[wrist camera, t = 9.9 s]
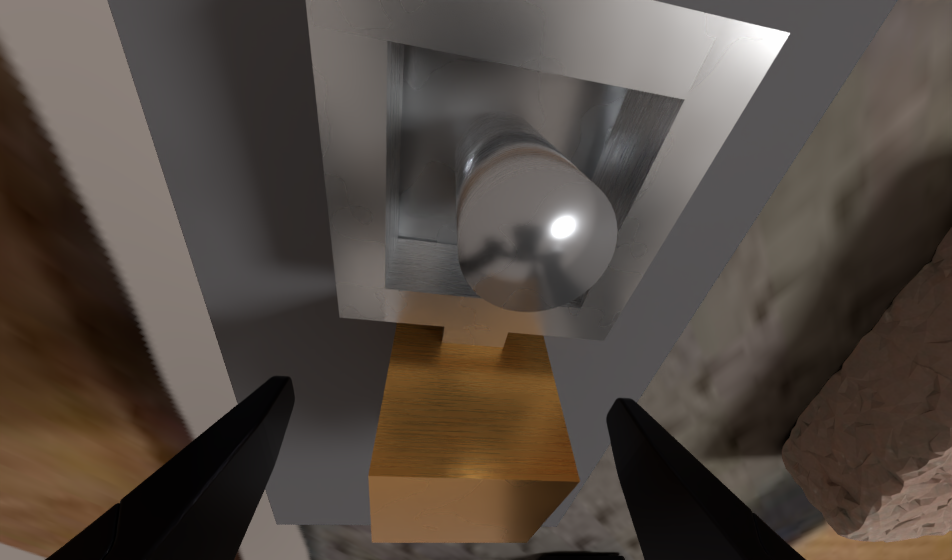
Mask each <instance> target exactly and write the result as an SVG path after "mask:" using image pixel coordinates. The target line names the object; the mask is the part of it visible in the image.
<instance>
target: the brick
mask: <svg viewBox="0 0 952 560" xmlns="http://www.w3.org/2000/svg"><path fill="white" fill-rule="evenodd" d="M782 458H783V462H784V464H785V467H786V469H787V470H788V471H789V473H790V474H791V475H792V477H793V479H794V480H795V482H796V483H797V484H798V485H800V486H801V487H802V489H803V491H804V493H805V495H806V497H807V498H808V500H809V502H810V503H811V504H812V505H813V506H815V507H816V508H817V509H818V510H819V511H821V512H822V513H823V516H824V519H825V520H826V521H827V522H828V524H829V525H830V526H831V527H832V528H833V529H834V530H835V531H836V533H837V534H838V535H840V536H843V537H846V538H848V539H853V540H859V541H873V542H876V541H884V542H893V541H901V540H905V539H910V538H918V537H920V536H923V535H945V534H946V533H947V532H949V531H952V227H951V229H950V230H949V231H948V233H947V234H946V235H945V237H944V238H943V240H942V241H941V242H940V244H939V245H938V247H937V249H936V253H935V255H934V256H933V259H932V261H931V262H930V263H928V264H926V265H925V266H924V267H923V268H922V269H921V271H920V272H919V273H918V274H917V275H916V276H915V277H914V278H913V279H912V280H911V281H910V282H909V283H908V284H907V285H906V286H905V287H904V288H903V289H902V290H901V292H900V293H899V294H898V295H897V296H896V297H895V298H894V299H893V302H892V305H891V306H890V307H889V308H888V309H887V310H886V311H885V312H884V314H883V315H882V317H881V319H880V320H879V322H878V323H877V324H876V325H875V326H874V328H873V329H872V331H870V332H869V333H867V334H866V335H865V336H864V337H863V338H862V339H861V340H860V342H859V343H858V345H857V346H856V347H855V349H854V351H853V352H852V353H851V355H850V356H849V357H848V358H847V359H846V361H845V362H844V363H843V366H842V369H841V370H840V371H838V372H837V373H835V374H833V376H832V377H831V378H830V379H829V380H828V381H827V383H826V384H825V385H824V386H823V388H822V389H821V391H820V392H819V394H818V395H817V396H816V397H815V398H814V399H813V400H812V401H811V403H810V404H809V405H808V407H807V408H806V409H805V410H804V411H803V413H802V414H801V415H800V416H799V418H798V420H797V423H796V425H795V427H794V428H793V429H792V431H791V435H790V437H789V439H788V440H787V441H786V442H785V444H784V446H783V449H782Z"/></svg>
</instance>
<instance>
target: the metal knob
mask: <svg viewBox="0 0 952 560" xmlns="http://www.w3.org/2000/svg"><path fill="white" fill-rule="evenodd" d="M627 90H628V88H623V87H618V86H613V85H608V84H603V83H598V82H593V81H588V80H583V79H578V78H573V77H568V76H563V75H558V74H553V73H548V72H543V71H538V70H532V69H527V68H522V67H517V66H512V65H507V64H502V63H497V62H492V61H487V60H482V59H477V58H472V57H467V56H462V55H457V54H452V53H447V52H442V51H437V50H432V49H426V48H421V47H416V46H411V45H406V44H404V73H403V101H402V130H401V159H400V188H399V216H398V238H402V239H410V240H418V241H427V242H435V243H443V244H451V245H457V250H458V260H459V265H460V269H461V271H462V274H463V276H464V278H465V280H466V281H467V283H468V284H469V286H470V287H471V288H472V289H473V291H475V292H476V293H477V294H478V295H479V296H480V297H481V298H483V299H484V300H485V301H487V302H489V303H491V304H493V305H495V306H497V307H500V308H503V309H506V310H510V311H517V312H538V311H544V310H549V309H553V308H556V307H559V306H561V305H564V304H566V303H568V302H570V301H572V300H574V299H576V298H577V297H579V296H581V295H582V294H583V293H585V292H586V291H587V290H588V289H590V288H591V287H592V286H593V285H594V284H595V283H596V282H597V281H598V279H599V278H600V277H601V276H602V274H603V273H604V271H605V270H606V268H607V267H608V265H609V263H610V261H611V259H612V256H613V254H614V251H615V247H616V242H617V232H618V231H617V221H616V216H615V212H614V210H613V208H612V205H611V203H610V202H609V200H608V198H607V197H606V195H605V194H604V193H603V192H602V191H601V190H600V189H599V188H598V187H597V186H596V185H595V184H594V183H593V182H592V181H591V180H592V178H593V175H594V173H595V170H596V168H597V165H598V163H599V160H600V158H601V155H602V153H603V150H604V147H605V145H606V142H607V140H608V137H609V135H610V132H611V130H612V127H613V125H614V122H615V120H616V117H617V115H618V112H619V110H620V107H621V105H622V102H623V100H624V97H625V95H626V92H627Z"/></svg>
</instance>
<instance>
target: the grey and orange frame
mask: <svg viewBox="0 0 952 560" xmlns="http://www.w3.org/2000/svg"><path fill="white" fill-rule="evenodd" d="M306 10H307V19H308V28H309V38H310V47H311V56H312V66H313V75H314V84H315V93H316V103H317V112H318V121H319V131H320V140H321V149H322V159H323V168H324V177H325V187H326V196H327V205H328V215H329V224H330V233H331V243H332V252H333V261H334V271H335V280H336V289H337V298H338V308H339V317H340V318H351V319H362V320H374V321H385V322H396V323H397V325H396V331H395V336H394V341H393V347H392V352H391V357H390V363H389V368H388V373H387V379H386V384H385V389H384V395H383V400H382V405H381V411H380V416H379V421H378V427H377V432H376V437H375V443H374V448H373V453H372V459H371V464H370V469H369V475H368V480H369V498H370V516H371V533H372V542H388V543H527V542H528V540H529V539H530V538H531V537H532V536H533V535H534V534H535V532H536V531H537V530H538V529H539V528H540V527H541V526H542V524H543V523H544V522H545V521H546V520H547V519H548V518H549V517H550V515H551V514H552V513H553V512H554V511H555V510H556V509H557V507H558V506H559V505H560V504H561V503H562V502H563V501H564V499H565V498H566V497H567V496H568V495H569V494H570V493H571V492H572V490H573V489H574V488H575V487H576V486H577V485H578V484H579V482H580V479H579V475H578V471H577V467H576V463H575V459H574V455H573V451H572V447H571V443H570V439H569V435H568V431H567V427H566V424H565V420H564V416H563V412H562V408H561V404H560V400H559V396H558V392H557V388H556V384H555V380H554V376H553V372H552V368H551V364H550V360H549V356H548V352H547V348H546V344H545V340H544V336H543V335H545V336H556V337H567V338H579V339H590V340H601V341H604V340H605V338H606V336H607V335H608V333H609V331H610V330H611V328H612V326H613V325H614V323H615V321H616V320H617V318H618V317H619V315H620V313H621V312H622V310H623V308H624V307H625V305H626V303H627V302H628V300H629V298H630V297H631V295H632V293H633V292H634V290H635V289H636V287H637V285H638V284H639V282H640V280H641V279H642V277H643V275H644V274H645V272H646V270H647V269H648V267H649V265H650V264H651V262H652V260H653V259H654V257H655V256H656V254H657V252H658V251H659V249H660V247H661V246H662V244H663V242H664V241H665V239H666V237H667V236H668V234H669V232H670V231H671V229H672V228H673V226H674V224H675V223H676V221H677V219H678V218H679V216H680V214H681V213H682V211H683V209H684V208H685V206H686V204H687V203H688V201H689V199H690V198H691V196H692V195H693V193H694V191H695V190H696V188H697V186H698V185H699V183H700V181H701V180H702V178H703V176H704V175H705V173H706V171H707V170H708V168H709V166H710V165H711V163H712V162H713V160H714V158H715V157H716V155H717V153H718V152H719V150H720V148H721V147H722V145H723V143H724V142H725V140H726V138H727V137H728V135H729V133H730V132H731V130H732V129H733V127H734V125H735V124H736V122H737V120H738V119H739V117H740V115H741V114H742V112H743V110H744V109H745V107H746V105H747V104H748V102H749V101H750V99H751V97H752V96H753V94H754V92H755V91H756V89H757V87H758V86H759V84H760V82H761V81H762V79H763V77H764V76H765V74H766V72H767V71H768V69H769V68H770V66H771V64H772V63H773V61H774V59H775V58H776V56H777V54H778V53H779V51H780V49H781V48H782V46H783V44H784V43H785V41H786V40H787V38H788V36H789V35H790V33H788V32H784V31H780V30H775V29H771V28H767V27H763V26H759V25H755V24H750V23H746V22H742V21H738V20H734V19H729V18H725V17H721V16H717V15H713V14H708V13H704V12H700V11H696V10H692V9H688V8H683V7H679V6H675V5H671V4H667V3H662V2H658V1H654V0H306ZM404 44H406V45H411V46H416V47H421V48H426V49H432V50H437V51H442V52H447V53H452V54H457V55H462V56H467V57H472V58H477V59H482V60H487V61H492V62H497V63H502V64H507V65H512V66H517V67H522V68H527V69H532V70H538V71H543V72H548V73H553V74H558V75H563V76H568V77H573V78H578V79H583V80H588V81H593V82H598V83H603V84H608V85H613V86H618V87H623V88H628V90H627V92H626V95H625V97H624V100H623V102H622V105H621V107H620V110H619V112H618V115H617V117H616V120H615V122H614V125H613V127H612V130H611V132H610V135H609V137H608V140H607V142H606V145H605V147H604V150H603V153H602V155H601V158H600V160H599V163H598V165H597V168H596V170H595V173H594V175H593V178H592V180H591V181H592V182H593V183H594V184H595V185H596V186H597V187H598V188H599V189H600V190H601V191H602V192H603V193H604V194H605V195H606V197H607V198H608V200H609V202H610V203H611V205H612V208H613V210H614V212H615V216H616V221H617V231H618V232H617V242H616V247H615V251H614V254H613V256H612V259H611V261H610V263H609V265H608V267H607V268H606V270H605V271H604V273H603V274H602V276H601V277H600V278H599V279H598V281H597V282H596V283H595V284H594V285H593V286H592V287H591V288H590V289H588V290H587V291H586V292H585V293H583V294H582V295H581V296H579V297H577V298H576V299H574V300H572V301H570V302H568V303H566V304H564V305H561V306H559V307H556V308H553V309H549V310H544V311H538V312H517V311H510V310H506V309H503V308H500V307H497V306H495V305H493V304H491V303H489V302H487V301H485V300H484V299H483V298H481V297H480V296H479V295H478V294H477V293H476V292H475V291H473V289H472V288H471V287H470V286H469V284H468V283H467V281H466V280H465V278H464V276H463V274H462V271H461V269H460V265H459V260H458V250H457V245H451V244H443V243H435V242H427V241H418V240H410V239H402V238H398V216H399V188H400V159H401V130H402V101H403V73H404Z"/></svg>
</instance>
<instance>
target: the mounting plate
mask: <svg viewBox="0 0 952 560" xmlns="http://www.w3.org/2000/svg"><path fill="white" fill-rule="evenodd" d="M654 1H658V2H662V3H667V4H671V5H675V6H679V7H683V8H688V9H692V10H696V11H700V12H704V13H708V14H713V15H717V16H721V17H725V18H729V19H734V20H738V21H742V22H746V23H750V24H755V25H759V26H763V27H767V28H771V29H775V30H780V31H784V32H788V33H790V35H789V36H788V38H787V40H786V41H785V43H784V44H783V46H782V48H781V49H780V51H779V53H778V54H777V56H776V58H775V59H774V61H773V63H772V64H771V66H770V68H769V69H768V71H767V72H766V74H765V76H764V77H763V79H762V81H761V82H760V84H759V86H758V87H757V89H756V91H755V92H754V94H753V96H752V97H751V99H750V101H749V102H748V104H747V105H746V107H745V109H744V110H743V112H742V114H741V115H740V117H739V119H738V120H737V122H736V124H735V125H734V127H733V129H732V130H731V132H730V133H729V135H728V137H727V138H726V140H725V142H724V143H723V145H722V147H721V148H720V150H719V152H718V153H717V155H716V157H715V158H714V160H713V162H712V163H711V165H710V166H709V168H708V170H707V171H706V173H705V175H704V176H703V178H702V180H701V181H700V183H699V185H698V186H697V188H696V190H695V191H694V193H693V195H692V196H691V198H690V199H689V201H688V203H687V204H686V206H685V208H684V209H683V211H682V213H681V214H680V216H679V218H678V219H677V221H676V223H675V224H674V226H673V228H672V229H671V231H670V232H669V234H668V236H667V237H666V239H665V241H664V242H663V244H662V246H661V247H660V249H659V251H658V252H657V254H656V256H655V257H654V259H653V260H652V262H651V264H650V265H649V267H648V269H647V270H646V272H645V274H644V275H643V277H642V279H641V280H640V282H639V284H638V285H637V287H636V289H635V290H634V292H633V293H632V295H631V297H630V298H629V300H628V302H627V303H626V305H625V307H624V308H623V310H622V312H621V313H620V315H619V317H618V318H617V320H616V321H615V323H614V325H613V326H612V328H611V330H610V331H609V333H608V335H607V336H606V338H605V340H604V341H601V340H590V339H579V338H567V337H556V336H545V335H543V336H544V340H545V344H546V348H547V352H548V356H549V360H550V364H551V368H552V372H553V376H554V380H555V384H556V388H557V392H558V396H559V400H560V404H561V408H562V412H563V416H564V420H565V424H566V427H567V431H568V435H569V439H570V443H571V447H572V451H573V455H574V459H575V463H576V467H577V471H578V475H579V479H580V482H579V484H578V485H577V486H576V487H575V488H574V489H573V490H572V492H571V493H570V494H569V495H568V496H567V497H566V498H565V499H564V501H563V502H562V503H561V504H560V505H559V506H558V507H557V509H556V510H555V511H554V512H553V513H552V514H551V515H550V517H549V518H548V519H547V520H546V521H545V522H544V523H543V524H542V526H553V527H557V525H558V524H559V522H560V520H561V519H562V517H563V516H564V514H565V513H566V511H567V510H568V508H569V507H570V505H571V503H572V502H573V500H574V499H575V497H576V496H577V494H578V493H579V491H580V490H581V488H582V486H583V485H584V483H585V482H586V480H587V479H588V477H589V476H590V474H591V473H592V471H593V470H594V468H595V466H596V465H597V463H598V462H599V460H600V459H601V457H602V456H603V454H604V453H605V451H606V449H607V448H608V446H609V445H610V443H611V442H610V437H609V432H608V428H607V423H606V417H607V413H608V412H609V410H610V408H611V407H612V405H613V403H614V402H615V400H616V399H617V398H631V399H633V400H634V401H635V402H636V403H637V402H638V400H639V399H640V397H641V395H642V394H643V392H644V391H645V389H646V388H647V386H648V385H649V383H650V382H651V380H652V378H653V377H654V375H655V374H656V372H657V371H658V369H659V368H660V366H661V365H662V363H663V362H664V360H665V358H666V357H667V355H668V354H669V352H670V351H671V349H672V348H673V346H674V345H675V343H676V341H677V340H678V338H679V337H680V335H681V334H682V332H683V331H684V329H685V328H686V326H687V324H688V323H689V321H690V320H691V318H692V317H693V315H694V314H695V312H696V311H697V309H698V308H699V306H700V304H701V303H702V301H703V300H704V298H705V297H706V295H707V294H708V292H709V291H710V289H711V287H712V286H713V284H714V283H715V281H716V280H717V278H718V277H719V275H720V274H721V272H722V270H723V269H724V267H725V266H726V264H727V263H728V261H729V260H730V258H731V257H732V255H733V254H734V252H735V250H736V249H737V247H738V246H739V244H740V243H741V241H742V240H743V238H744V237H745V235H746V233H747V232H748V230H749V229H750V227H751V226H752V224H753V223H754V221H755V220H756V218H757V216H758V215H759V213H760V212H761V210H762V209H763V207H764V206H765V204H766V203H767V201H768V200H769V198H770V196H771V195H772V193H773V192H774V190H775V189H776V187H777V186H778V184H779V183H780V181H781V179H782V178H783V176H784V175H785V173H786V172H787V170H788V169H789V167H790V166H791V164H792V162H793V161H794V159H795V158H796V156H797V155H798V153H799V152H800V150H801V149H802V147H803V146H804V144H805V142H806V141H807V139H808V138H809V136H810V135H811V133H812V132H813V130H814V129H815V127H816V125H817V124H818V122H819V121H820V119H821V118H822V116H823V115H824V113H825V112H826V110H827V108H828V107H829V105H830V104H831V102H832V101H833V99H834V98H835V96H836V95H837V93H838V92H839V90H840V88H841V87H842V85H843V84H844V82H845V81H846V79H847V78H848V76H849V75H850V73H851V71H852V70H853V68H854V67H855V65H856V64H857V62H858V61H859V59H860V58H861V56H862V54H863V53H864V51H865V50H866V48H867V47H868V45H869V44H870V42H871V41H872V39H873V38H874V36H875V34H876V33H877V31H878V30H879V28H880V27H881V25H882V24H883V22H884V21H885V19H886V17H887V16H888V14H889V13H890V11H891V10H892V8H893V7H894V5H895V4H896V2H897V0H654ZM108 3H109V6H110V9H111V13H112V16H113V19H114V22H115V25H116V28H117V31H118V34H119V37H120V40H121V44H122V46H123V49H124V53H125V55H126V59H127V62H128V65H129V68H130V71H131V74H132V78H133V81H134V84H135V87H136V90H137V93H138V96H139V99H140V102H141V105H142V109H143V112H144V115H145V118H146V121H147V124H148V127H149V130H150V133H151V136H152V139H153V142H154V146H155V148H156V152H157V155H158V158H159V161H160V164H161V167H162V170H163V173H164V177H165V180H166V183H167V185H168V189H169V192H170V195H171V198H172V201H173V205H174V208H175V211H176V214H177V217H178V220H179V223H180V226H181V229H182V232H183V236H184V239H185V242H186V245H187V248H188V251H189V254H190V257H191V260H192V263H193V266H194V269H195V273H196V276H197V278H198V282H199V285H200V288H201V291H202V294H203V297H204V301H205V304H206V307H207V310H208V313H209V315H210V319H211V322H212V325H213V328H214V331H215V334H216V338H217V340H218V344H219V347H220V350H221V353H222V356H223V359H224V363H225V366H226V369H227V372H228V375H229V378H230V381H231V384H232V387H233V390H234V393H235V397H236V400H237V403H238V404H239V403H240V402H241V401H242V400H244V399H245V398H246V397H247V396H249V395H250V394H251V393H252V392H253V391H255V390H256V389H257V388H258V387H260V386H261V385H262V384H263V383H265V382H266V381H267V380H268V379H269V378H271V377H273V376H289V377H291V379H292V383H293V388H294V394H295V403H294V407H293V410H292V413H291V417H290V420H289V423H288V426H287V429H286V432H285V436H284V439H283V442H282V445H281V448H280V451H279V455H278V458H277V461H276V464H275V466H274V469H273V471H272V474H271V476H270V478H269V481H268V483H267V485H266V488H265V489H266V492H267V496H268V499H269V502H270V505H271V508H272V511H273V514H274V517H275V520H276V524H295V525H371V516H370V498H369V480H368V475H369V469H370V464H371V459H372V453H373V448H374V443H375V437H376V432H377V427H378V421H379V416H380V411H381V405H382V400H383V395H384V389H385V384H386V379H387V373H388V368H389V363H390V357H391V352H392V347H393V341H394V336H395V331H396V325H397V323H396V322H385V321H374V320H362V319H351V318H340V317H339V308H338V298H337V289H336V280H335V271H334V261H333V252H332V243H331V233H330V224H329V215H328V205H327V196H326V187H325V177H324V168H323V159H322V149H321V140H320V131H319V121H318V112H317V103H316V93H315V84H314V75H313V66H312V56H311V47H310V38H309V28H308V19H307V10H306V0H108Z"/></svg>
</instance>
